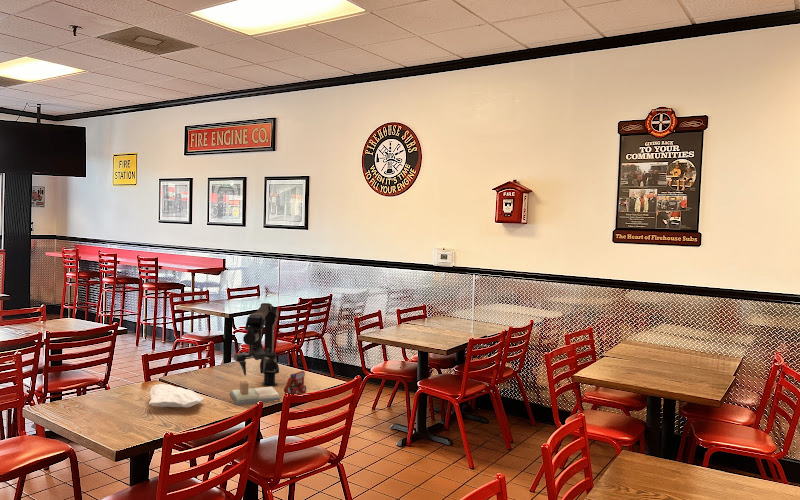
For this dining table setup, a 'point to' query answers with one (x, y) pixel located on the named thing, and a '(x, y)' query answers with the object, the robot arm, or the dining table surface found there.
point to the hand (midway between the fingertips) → (254, 374)
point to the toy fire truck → (296, 383)
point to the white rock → (173, 396)
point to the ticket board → (259, 396)
